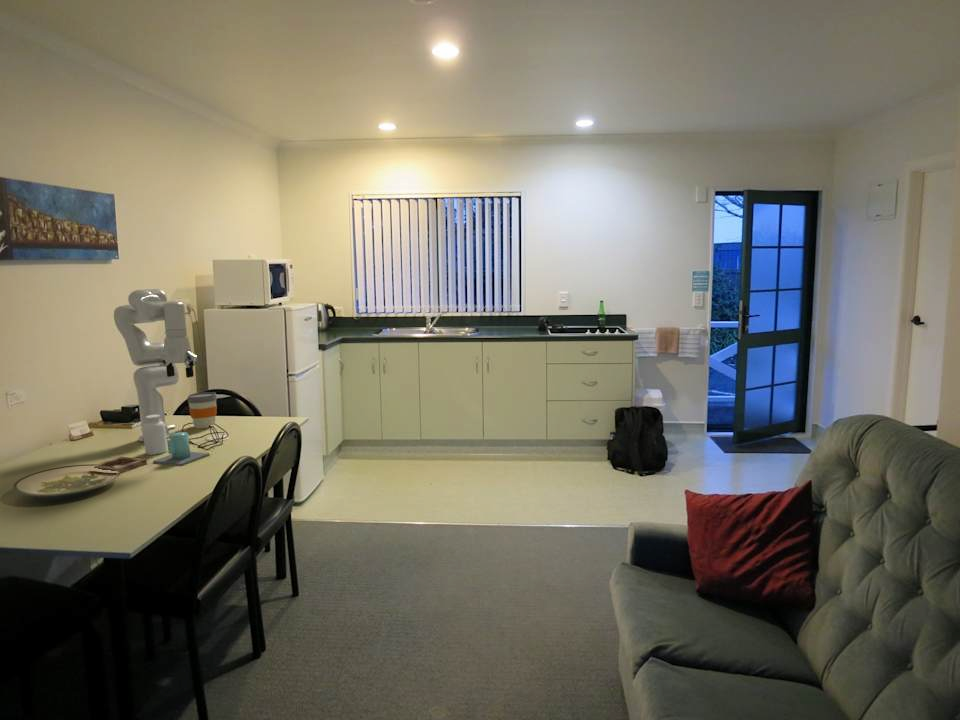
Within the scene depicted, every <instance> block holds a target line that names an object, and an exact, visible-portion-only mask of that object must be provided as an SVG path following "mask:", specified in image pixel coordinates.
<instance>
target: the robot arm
mask: <svg viewBox="0 0 960 720" xmlns="http://www.w3.org/2000/svg"><path fill="white" fill-rule="evenodd" d="M127 302H128V304H122V305H119V306H117V307H116V308H115V309H114V311H113V318H114V319H113V321H114V323H115V326H116V328H117V330H118V331H119V333H120V335H121V336H122V338H123V340H124V342H125V345H126V348H127V351H128V354H129V357H130V360H131V362H132V363H133V365H134V366H137V367H139V368H137V369H135V371H134V372H133V382H134V385H135V389H136V394H137V399H138V400H137V401H138V409H139V410H138V411H139V418H140V427H141V435H140V436H138V437H137V439H138V441H140V442H141V441H142V442H141V443H143V442H144V434H143V425H144V424H145V423H147V422H146V419H145V417H146V416H149V415H160V419H161V420H160V421H162V422H164V424H165V430H166V440H168V439H170V435H171V434H172V433H170V431H172V430H175V428H176V427H175V425H174V424H172V425H166V423H167V422H166V414H165V412H166V411H165V406H164V405H165V404H164V402H165V401H164V397H163V395H162V394H161V393H160V392H159V391H158V388H164V387H170V386H174V385H176V384H178V382H179V378H180V377H179V372H178V368H177V365H176V364H184V365H185V366H186V367H185V377H186V378H193V377H194V367H195V364H196V363H197V359H198V358H197V357H198V356H197V355H196V354H194V353H193V352H192V348H191V342H190V338H189V336H188V331H187V321H186V310H185V304H184V303H183V302H181V301H175V300H168V298H167V294H166V293H165V291H163V290H162V289H159V288H150V289H149V288H147V289H136V290H133V291H132V292H131V293H129V295H128V297H127ZM159 321H160V322H161V321H162V322H163V321H164V329H165V331H164V334H165V337H164V341H163V342H152V343H151V342H149V340H148V337H147V335H146V332H144V331H143V330H142V329H141V328H140V327H138V326H136V325H137V324H145V323H146V324H149V323H150V324H151V323H156V322H159Z"/></svg>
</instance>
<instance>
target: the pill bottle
mask: <svg viewBox="0 0 960 720" xmlns="http://www.w3.org/2000/svg"><path fill="white" fill-rule="evenodd" d="M145 419H146V422H147V423H145V424H144V425H143V434H144V444H143V445H144V452H145V454H146V455H151V456H153V455H160V454H164V453H166V452H168V444H167V439H166V430H165V424H164V422H162V421H160V420H161V419H160V415H149V416H146V417H145Z"/></svg>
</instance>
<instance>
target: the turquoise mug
mask: <svg viewBox="0 0 960 720" xmlns="http://www.w3.org/2000/svg"><path fill="white" fill-rule="evenodd" d="M170 434H171V435H170V437H169V439H166V441H167V452H168V455H171V454H172V459H184V458H188V457H190V456H191V455H190V452H191V448H190V439H189V433H188V432H186V431H179V432H175V433H170Z"/></svg>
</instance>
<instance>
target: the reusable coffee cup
mask: <svg viewBox="0 0 960 720" xmlns="http://www.w3.org/2000/svg"><path fill="white" fill-rule="evenodd" d="M217 400H218V398H217V393H216V392H213V391H211V392H209V391H208V392H207V391H205V392H196V393H191V394H188V395H187V403H188V406H189V407H188V410H189V415H190V418H191V419H192V424H193V428H194V427H195V428H194V429H198V428H201V429H208V427H209V425H214V424H215V425H216V416H217V409H218V405H217ZM209 428H210V427H209Z"/></svg>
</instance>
